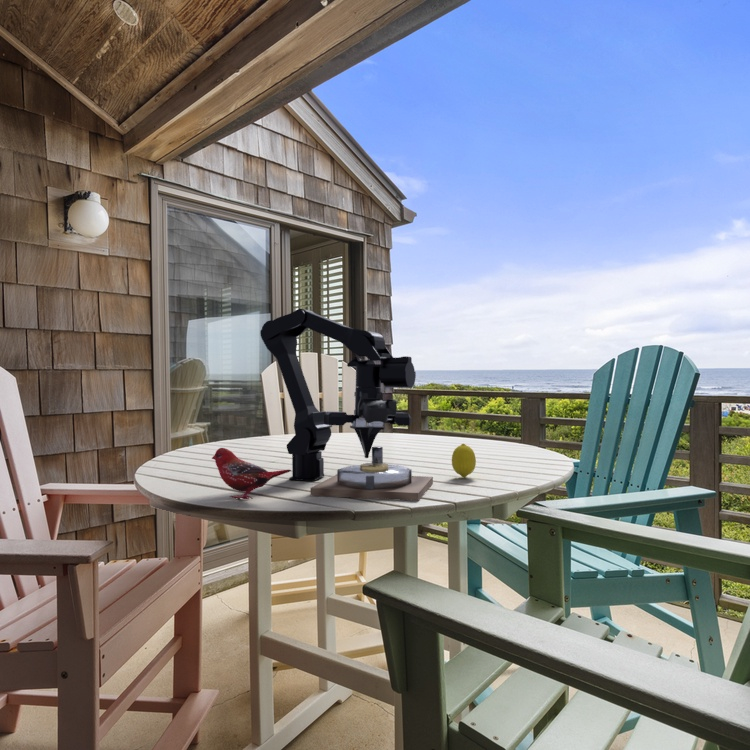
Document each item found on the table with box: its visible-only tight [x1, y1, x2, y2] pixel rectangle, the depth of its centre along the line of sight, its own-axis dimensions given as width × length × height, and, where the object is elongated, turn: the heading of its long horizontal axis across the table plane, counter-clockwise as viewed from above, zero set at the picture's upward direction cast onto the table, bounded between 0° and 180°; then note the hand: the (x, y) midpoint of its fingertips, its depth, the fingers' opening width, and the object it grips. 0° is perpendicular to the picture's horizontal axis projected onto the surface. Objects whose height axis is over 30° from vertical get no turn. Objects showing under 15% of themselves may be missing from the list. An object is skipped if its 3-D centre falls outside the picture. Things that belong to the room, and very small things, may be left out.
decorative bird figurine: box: [211, 447, 292, 500], centre depth 99 cm, size 3×18×10 cm, turn 72°
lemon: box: [451, 443, 477, 479], centre depth 119 cm, size 6×6×8 cm
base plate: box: [309, 474, 434, 502], centre depth 107 cm, size 22×17×2 cm
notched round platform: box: [336, 446, 413, 489], centre depth 107 cm, size 16×16×6 cm
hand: (366, 457), depth 113 cm, fingers closed
